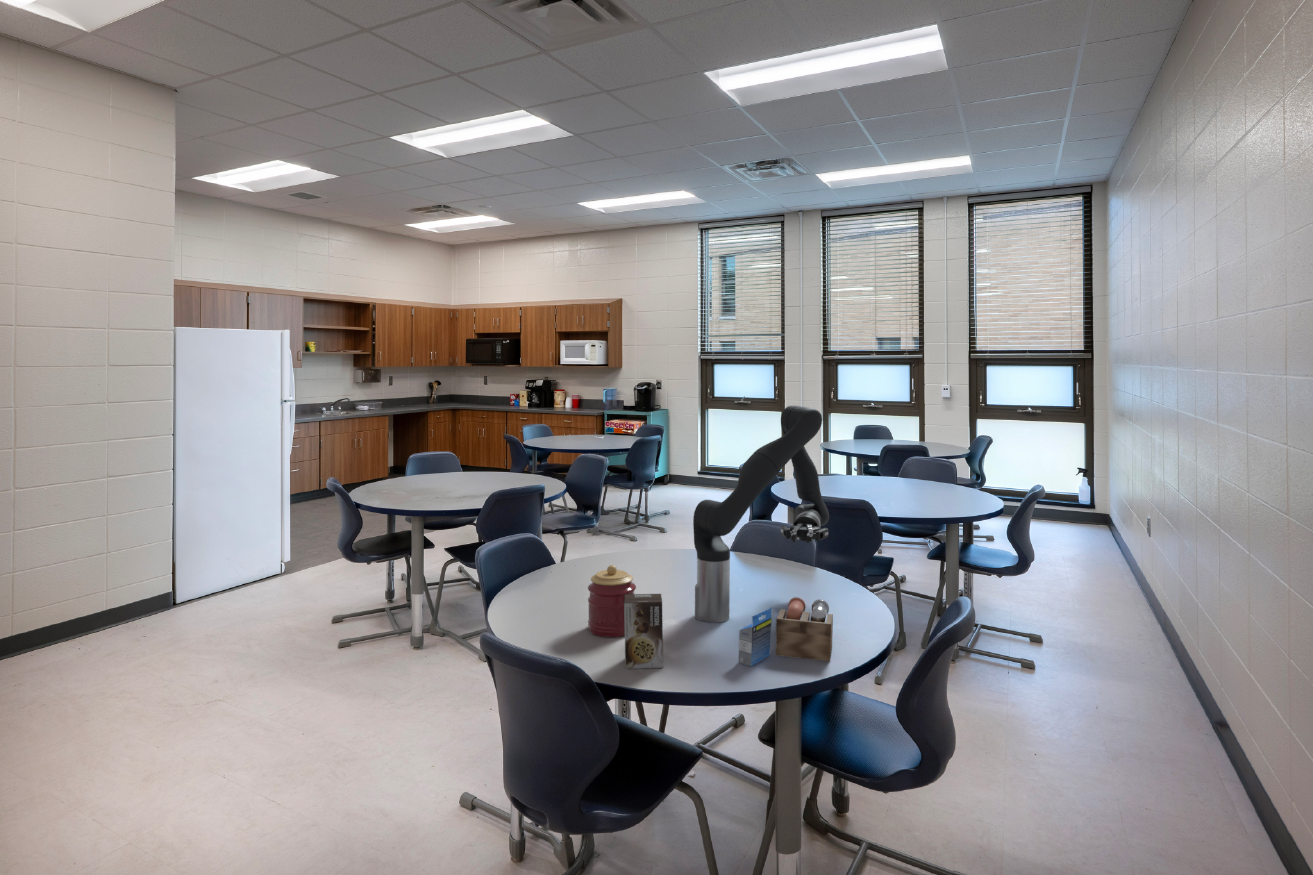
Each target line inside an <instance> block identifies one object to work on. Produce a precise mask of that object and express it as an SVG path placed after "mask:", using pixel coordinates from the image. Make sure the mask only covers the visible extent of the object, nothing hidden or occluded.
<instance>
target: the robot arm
mask: <svg viewBox="0 0 1313 875" xmlns="http://www.w3.org/2000/svg"><path fill="white" fill-rule="evenodd" d="M780 415H781V416H780V426H781V431H782V434H783V435H782V436H781V437H778V438H777V439H774V440H773V441H770V442H768V443H765V444H764V445H762V446H761V447H759V448H758V449H756V450H755V451H754V452H753V453H752V454H751V455H750V456H749V457H748V458H747V459H746V461H744V463H743V464H742V466H741V468H740V471H739V473H738V474H739V475H738V479H737V485H736V487H735V488H734V490H733V491H732V492H731V493H730V494H729V495H728V496H727V497H726V498H725V499H723V501H717V500H713V499H704V500H703V499H702V501H699V503H698V504H697V506H696V507H695V509H694V512H693V518H692V519H693V523H692V524H693V527H692V528H693V543H694V544H693V545H694V548H695V551H696V584H695V585H694V619H695V620H699V621H701V622H706V623H712V624H713V623H723V622H725V621H728V620H729V619H730V610H731V609H730V594H731V593H730V592H731V590H730V587H731V585H730V584H731V581H730V580H731V578H730V576H731V549H730V548H729V546H728V545H727V544H726V543H725V542H724V541H723V539H722V537H725V536H726V535H729V534H730V533H731V532H732V531H733V530H734V529H735V528H736V526H737V525H738V523H739V522H740V521H741V520H742V518H743V516H744V515H745V514H746V513H747V511H748V510H749V508H750V507H751V505H752V504H753V503H754V501H755V500H757V498H758V497H759V496H760V494H762V492H763V491H764V490H765V489H766V488H767V487H768V485H769V484H771V483H772V481H773V480H774V479H775V478H776V476H778V474H779V473H780V472H781V471H782V469H783V468H784V467H785V466H786V465H787V463H789V462H790V460H791V463H792V467H793V471H794V472H793V473H794V479H795V484H796V485H795V486H796V492H797V497H798V498H799V499H800V500H802V501H806V502H811V503H807V504H804V503H803V504H800V505H797V506H796V507H795V510H794V522H793V524H792V525H790V527H788V526H786V525H783V524H782V525H781V526H780V534H781V536H782V537H784V539H787V540H790V541H792V543H797V540H798V541H801V542H806V544H810V543H811V542H813V541H814V540H815V541H817V542H819V541H822V540H825V539H827V538H828V537H829V528H827V527H824V526H826V525H827V524H828V522H829V519H830V514H829V510H828V507H827V505H826V504H825V501H824V499H823V497H822V496H823V495H822V492H821V488H820V480H819V473H818V470H817V468H816V465H815V463H814V462H813V460H812V458H811V457H810V455H809V453H808V451H807V449H806V447H805V446H806V445H807V444H808V443H809V442H810V441H811V440H812V439H814V438H815V436H816V435H817V434H818V432H819V431H820V429H821V427H822V424H823V417H822V416H823V415H822V413H821V412H820V411H819V410H818V409H816V408H815V407H814V408H813V407H810V406H800V405H788V406H787V407H785V408H784V409H783V410H782V413H781V414H780ZM822 526H823V527H824V528H821V527H822Z"/></svg>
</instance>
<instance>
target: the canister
mask: <svg viewBox="0 0 1313 875" xmlns="http://www.w3.org/2000/svg"><path fill="white" fill-rule="evenodd" d="M633 580H634V577H633V575H631V574H629V573H628V572H627V571H625V570H621V569H618V568H617V566H615V565H614V564H613V565H611V564H610V565H609V566H607V569H603V570H601V571H598V572H596V573H595V574H593V575H592V576H591V577H590V581H591V583H589V584H588V586H587V590H588V592H589V596H588V598H587V602H588V619H587V623H588V624H587V626H588V630H589V632H590V633H591V634H592V635H594V636H598V637H601V638H618V637H619V638H620V637H625V618H624V597H625V595H626V594H635V590H636V589H637V586H636V584H635V583H634V582H633Z"/></svg>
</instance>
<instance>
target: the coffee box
mask: <svg viewBox="0 0 1313 875" xmlns="http://www.w3.org/2000/svg"><path fill="white" fill-rule="evenodd" d="M624 618H625V636H624V663H625V664H624V669H625V670H627V669H628V670H630V669H632V670H633V669H657V668H658V669H663V668H664V641H663V638H664V637H663V632H664V631H663V622H664V620H663V598H662V593H634V594H626V595H625V597H624Z"/></svg>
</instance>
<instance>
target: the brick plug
mask: <svg viewBox="0 0 1313 875" xmlns="http://www.w3.org/2000/svg"><path fill="white" fill-rule="evenodd" d="M787 606H788V609H787V611H786V619H792V620H801V618H802V614H803V612H806V602H805V601H804V600H803V599H802V598H801V597H796V596H795V597H793V598H791V599H790V600H789V602H788V605H787Z"/></svg>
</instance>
